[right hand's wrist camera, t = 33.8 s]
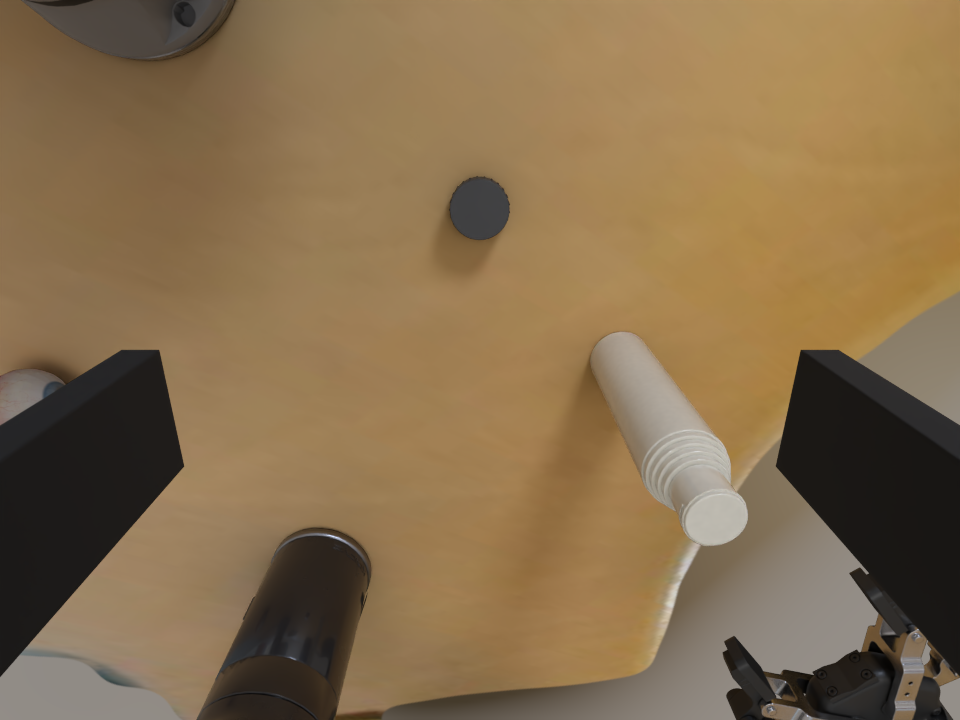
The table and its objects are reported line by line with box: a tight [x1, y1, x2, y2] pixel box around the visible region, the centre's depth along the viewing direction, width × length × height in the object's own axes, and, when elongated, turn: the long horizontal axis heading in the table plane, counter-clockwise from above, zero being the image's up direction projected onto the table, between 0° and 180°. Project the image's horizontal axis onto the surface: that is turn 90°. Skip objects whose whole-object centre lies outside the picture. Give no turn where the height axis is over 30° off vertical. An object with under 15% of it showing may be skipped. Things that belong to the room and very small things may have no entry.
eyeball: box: [0, 369, 66, 425], centre depth 47 cm, size 6×6×6 cm
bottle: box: [590, 332, 748, 546], centre depth 39 cm, size 5×5×22 cm
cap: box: [449, 176, 510, 240], centre depth 43 cm, size 4×4×2 cm
